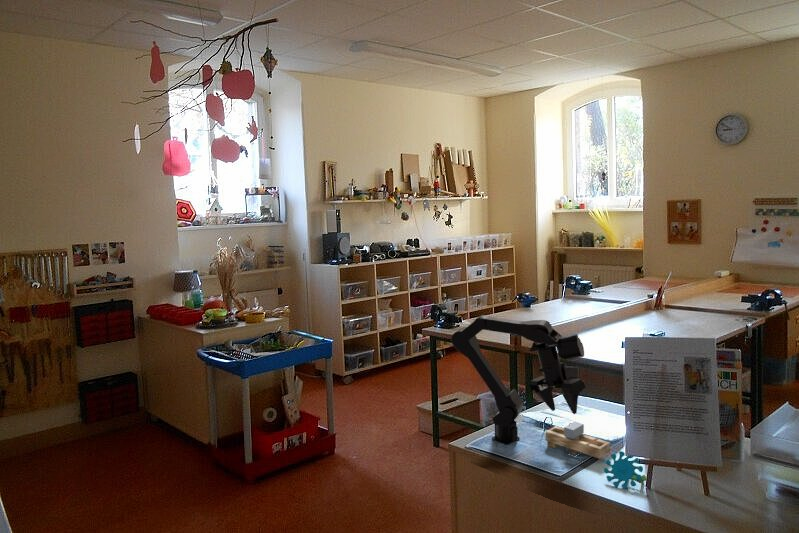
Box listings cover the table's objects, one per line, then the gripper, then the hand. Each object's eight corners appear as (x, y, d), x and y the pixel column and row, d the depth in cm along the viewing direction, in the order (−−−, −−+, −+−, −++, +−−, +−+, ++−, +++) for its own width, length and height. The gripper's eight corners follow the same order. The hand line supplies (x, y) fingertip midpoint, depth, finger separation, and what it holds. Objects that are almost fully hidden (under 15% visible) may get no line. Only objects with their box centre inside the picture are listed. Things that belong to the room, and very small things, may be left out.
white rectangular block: (564, 441, 179) (564, 427, 179) (574, 435, 183) (574, 421, 183) (573, 444, 177) (573, 430, 176) (583, 438, 181) (583, 424, 180)
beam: (545, 446, 184) (544, 431, 184) (556, 440, 189) (556, 425, 188) (599, 465, 171) (599, 449, 171) (610, 457, 176) (610, 441, 175)
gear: (596, 476, 162) (613, 444, 165) (602, 484, 166) (618, 452, 169) (635, 496, 154) (652, 462, 157) (640, 504, 158) (657, 470, 161)
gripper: (591, 354, 176) (606, 405, 177) (548, 353, 193) (562, 399, 193) (564, 366, 171) (579, 419, 171) (522, 364, 188) (536, 412, 188)
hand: (564, 412), depth 181 cm, fingers open, 9 cm apart
